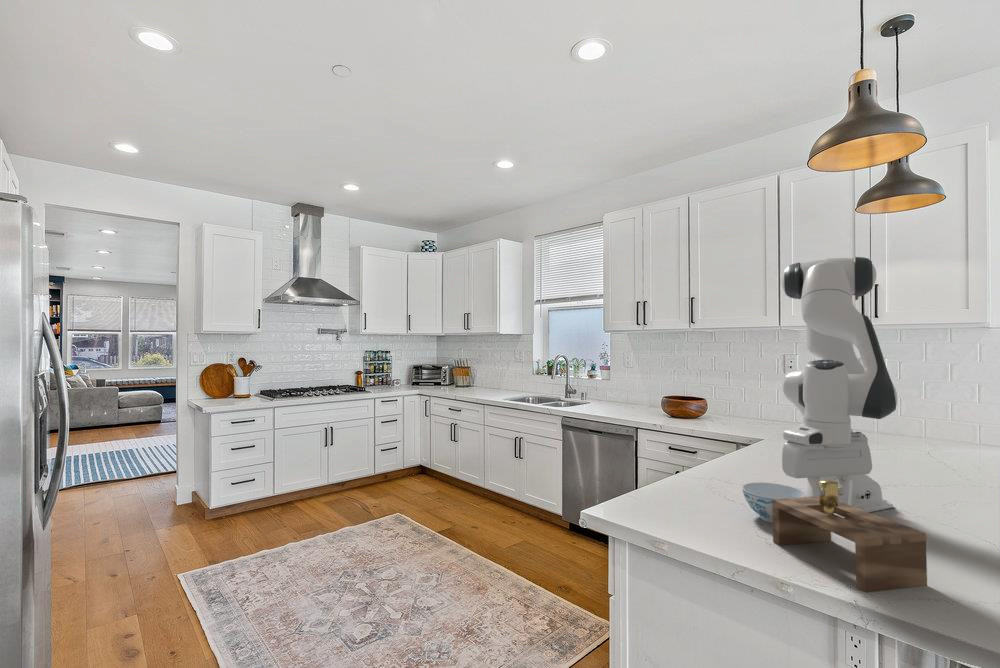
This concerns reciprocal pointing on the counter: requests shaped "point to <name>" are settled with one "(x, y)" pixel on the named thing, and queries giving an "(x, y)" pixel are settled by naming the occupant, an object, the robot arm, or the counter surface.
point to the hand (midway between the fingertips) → (828, 495)
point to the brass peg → (829, 496)
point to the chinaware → (768, 497)
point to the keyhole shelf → (857, 541)
